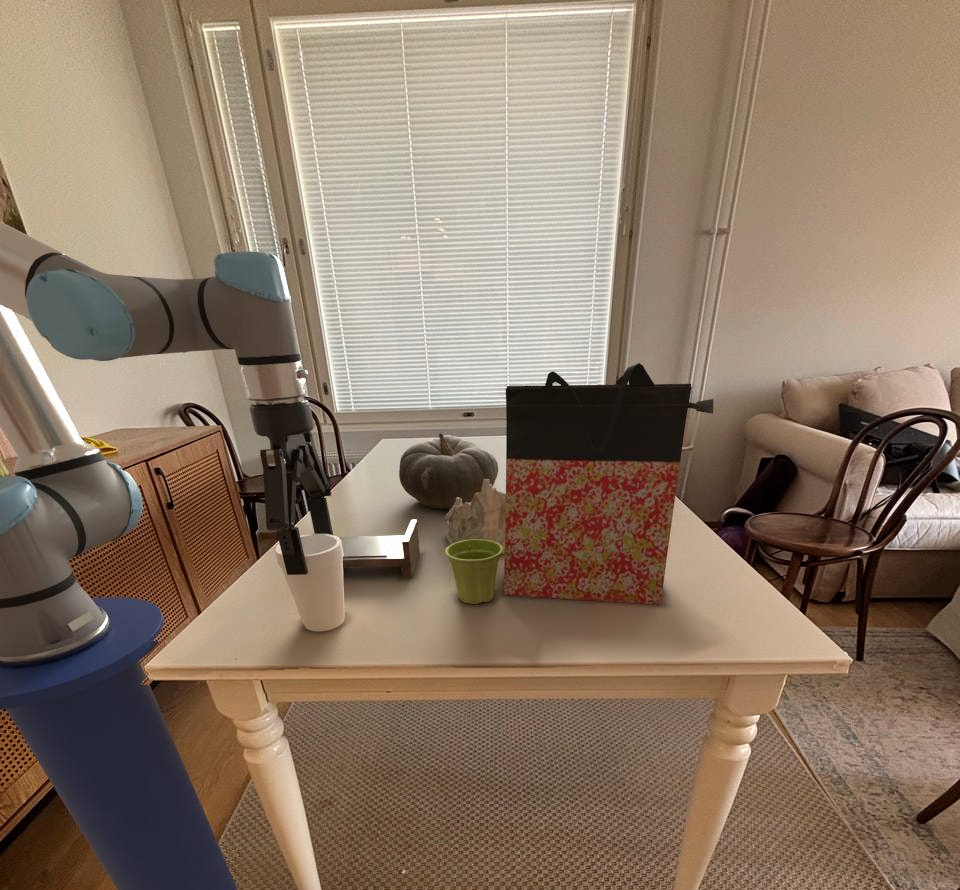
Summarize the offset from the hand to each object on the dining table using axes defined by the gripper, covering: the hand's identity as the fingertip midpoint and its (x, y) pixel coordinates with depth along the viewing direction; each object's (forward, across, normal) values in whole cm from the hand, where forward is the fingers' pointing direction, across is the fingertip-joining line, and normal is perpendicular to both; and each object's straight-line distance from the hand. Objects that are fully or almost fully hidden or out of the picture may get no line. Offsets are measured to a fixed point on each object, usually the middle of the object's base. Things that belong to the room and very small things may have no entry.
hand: (312, 555), depth 80 cm
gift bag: (+12, +10, -44) cm, 46 cm away
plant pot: (+12, +8, -24) cm, 28 cm away
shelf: (+11, +22, -4) cm, 25 cm away
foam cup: (+12, 0, 0) cm, 12 cm away
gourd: (+12, +64, -16) cm, 67 cm away
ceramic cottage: (+12, +34, -26) cm, 44 cm away
